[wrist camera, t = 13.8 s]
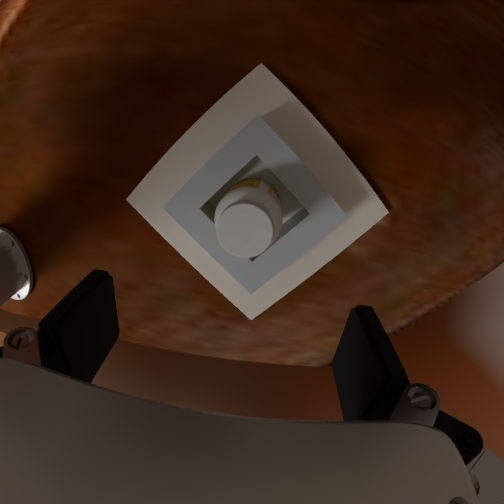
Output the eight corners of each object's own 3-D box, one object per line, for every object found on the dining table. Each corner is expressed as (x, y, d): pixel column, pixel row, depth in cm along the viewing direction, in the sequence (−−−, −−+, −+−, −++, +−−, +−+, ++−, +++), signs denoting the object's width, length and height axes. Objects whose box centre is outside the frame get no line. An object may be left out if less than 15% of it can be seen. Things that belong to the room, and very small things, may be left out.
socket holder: (251, 316, 35) (249, 338, 31) (129, 197, 30) (111, 207, 26) (386, 210, 29) (401, 221, 25) (261, 65, 25) (260, 53, 21)
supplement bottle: (290, 192, 29) (298, 217, 20) (264, 237, 30) (261, 279, 22) (241, 167, 28) (227, 179, 19) (217, 213, 30) (195, 246, 21)
